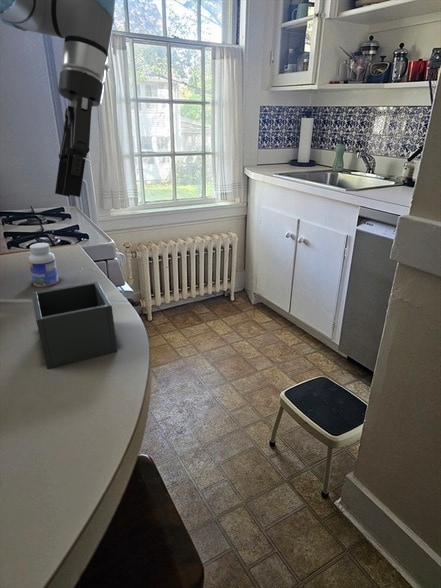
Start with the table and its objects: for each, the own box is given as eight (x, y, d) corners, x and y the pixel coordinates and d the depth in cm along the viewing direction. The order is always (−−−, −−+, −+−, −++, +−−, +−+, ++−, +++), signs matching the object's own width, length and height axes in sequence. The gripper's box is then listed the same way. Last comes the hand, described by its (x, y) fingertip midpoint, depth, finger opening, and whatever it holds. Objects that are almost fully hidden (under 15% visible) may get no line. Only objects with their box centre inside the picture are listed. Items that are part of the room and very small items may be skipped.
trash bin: (46, 369, 61) (36, 320, 57) (41, 336, 70) (31, 292, 66) (117, 351, 65) (111, 305, 62) (103, 323, 74) (97, 281, 71)
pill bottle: (28, 288, 89) (19, 247, 85) (46, 279, 94) (38, 240, 90) (47, 291, 87) (39, 250, 83) (64, 283, 92) (57, 243, 88)
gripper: (120, 65, 62) (100, 200, 65) (91, 98, 83) (77, 198, 86) (70, 46, 58) (51, 190, 61) (53, 85, 79) (40, 191, 82)
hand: (66, 195), depth 74 cm, fingers open, 13 cm apart
